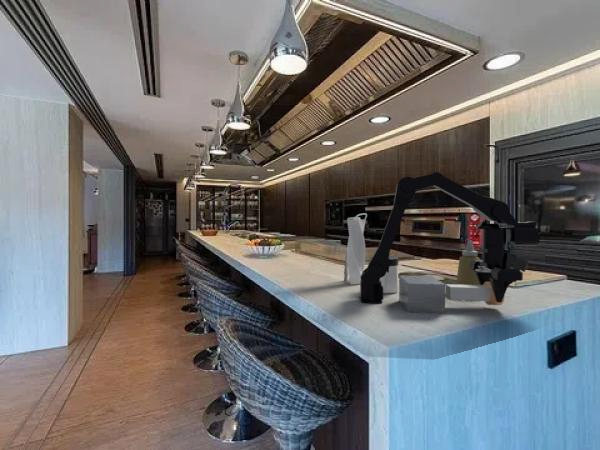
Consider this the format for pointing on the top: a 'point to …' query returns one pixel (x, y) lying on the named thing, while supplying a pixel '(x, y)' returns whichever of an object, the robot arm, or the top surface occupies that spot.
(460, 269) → the squeeze bottle
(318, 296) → the top surface
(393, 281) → the jar
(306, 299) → the top surface
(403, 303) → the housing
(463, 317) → the top surface
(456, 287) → the white and tan bar
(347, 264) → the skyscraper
